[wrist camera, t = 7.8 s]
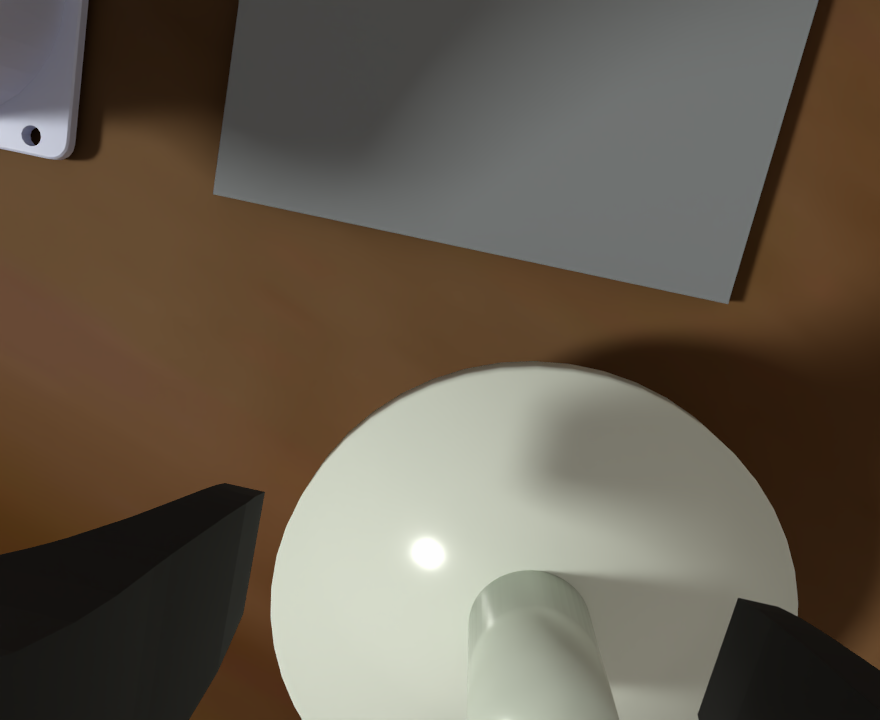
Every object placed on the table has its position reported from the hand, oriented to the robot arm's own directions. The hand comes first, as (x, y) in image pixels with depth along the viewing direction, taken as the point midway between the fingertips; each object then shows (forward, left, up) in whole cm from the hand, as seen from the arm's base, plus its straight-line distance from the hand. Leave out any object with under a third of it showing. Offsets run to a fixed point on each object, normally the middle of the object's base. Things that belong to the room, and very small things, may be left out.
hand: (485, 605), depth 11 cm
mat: (-1, +11, -10) cm, 15 cm away
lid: (+2, -3, -6) cm, 7 cm away
